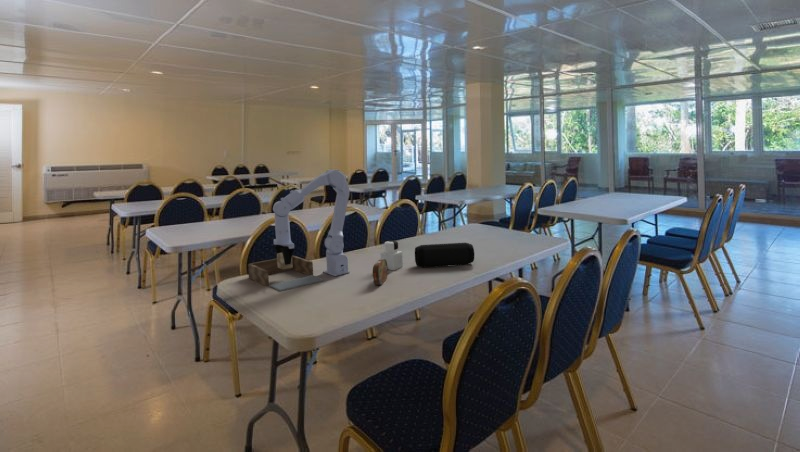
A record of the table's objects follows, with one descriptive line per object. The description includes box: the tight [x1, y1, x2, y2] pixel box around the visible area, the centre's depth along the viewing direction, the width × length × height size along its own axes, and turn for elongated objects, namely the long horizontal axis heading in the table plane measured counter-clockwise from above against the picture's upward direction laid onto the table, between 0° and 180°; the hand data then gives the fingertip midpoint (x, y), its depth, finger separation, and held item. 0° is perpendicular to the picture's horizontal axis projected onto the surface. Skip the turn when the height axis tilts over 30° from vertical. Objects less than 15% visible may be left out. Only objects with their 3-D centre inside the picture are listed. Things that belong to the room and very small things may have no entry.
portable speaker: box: [414, 242, 475, 268], centre depth 195 cm, size 26×10×10 cm, turn 98°
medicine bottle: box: [380, 240, 404, 271], centre depth 193 cm, size 7×7×12 cm
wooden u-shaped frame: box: [247, 254, 314, 287], centre depth 184 cm, size 17×21×6 cm
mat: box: [269, 274, 325, 292], centre depth 174 cm, size 9×19×1 cm, turn 132°
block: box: [276, 252, 293, 269], centre depth 180 cm, size 4×4×6 cm
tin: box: [372, 258, 389, 286], centre depth 173 cm, size 15×3×8 cm, turn 168°
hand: (285, 263), depth 180 cm, fingers closed on block, 4 cm apart
